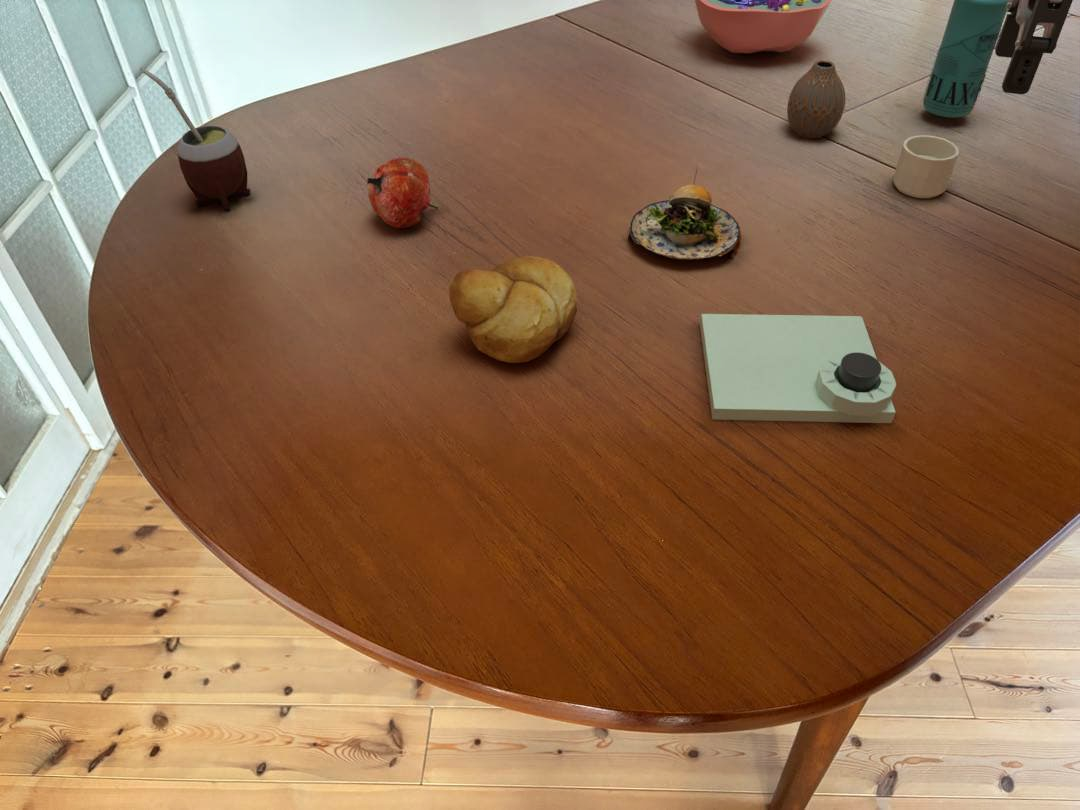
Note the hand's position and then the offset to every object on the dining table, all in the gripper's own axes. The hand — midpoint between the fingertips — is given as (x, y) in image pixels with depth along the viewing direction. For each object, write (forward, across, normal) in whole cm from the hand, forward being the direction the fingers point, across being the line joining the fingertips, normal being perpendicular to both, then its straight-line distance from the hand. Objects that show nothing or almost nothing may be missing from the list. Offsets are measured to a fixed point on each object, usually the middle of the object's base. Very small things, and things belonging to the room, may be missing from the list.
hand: (1009, 73), depth 80 cm
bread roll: (+18, -28, +39) cm, 51 cm away
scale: (+18, -27, +14) cm, 35 cm away
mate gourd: (+18, -14, +82) cm, 85 cm away
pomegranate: (+18, -12, +58) cm, 62 cm away
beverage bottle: (+18, +30, 0) cm, 35 cm away
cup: (+18, +10, +3) cm, 21 cm away
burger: (+18, -8, +27) cm, 34 cm away
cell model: (+18, +46, +27) cm, 57 cm away
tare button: (+15, -29, +9) cm, 34 cm away
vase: (+18, +21, +16) cm, 32 cm away
